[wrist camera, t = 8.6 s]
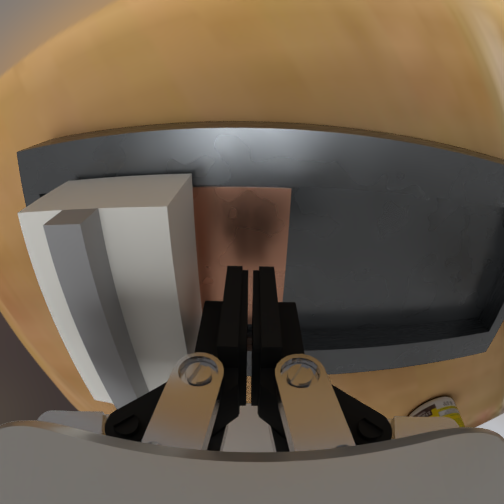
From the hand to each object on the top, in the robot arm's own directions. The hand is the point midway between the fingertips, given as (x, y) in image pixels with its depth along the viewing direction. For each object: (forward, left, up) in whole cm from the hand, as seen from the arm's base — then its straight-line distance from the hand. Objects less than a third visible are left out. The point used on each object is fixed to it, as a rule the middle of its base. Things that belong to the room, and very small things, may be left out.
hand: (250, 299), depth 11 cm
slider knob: (+4, 0, -2) cm, 5 cm away
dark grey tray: (-3, 0, -4) cm, 5 cm away
